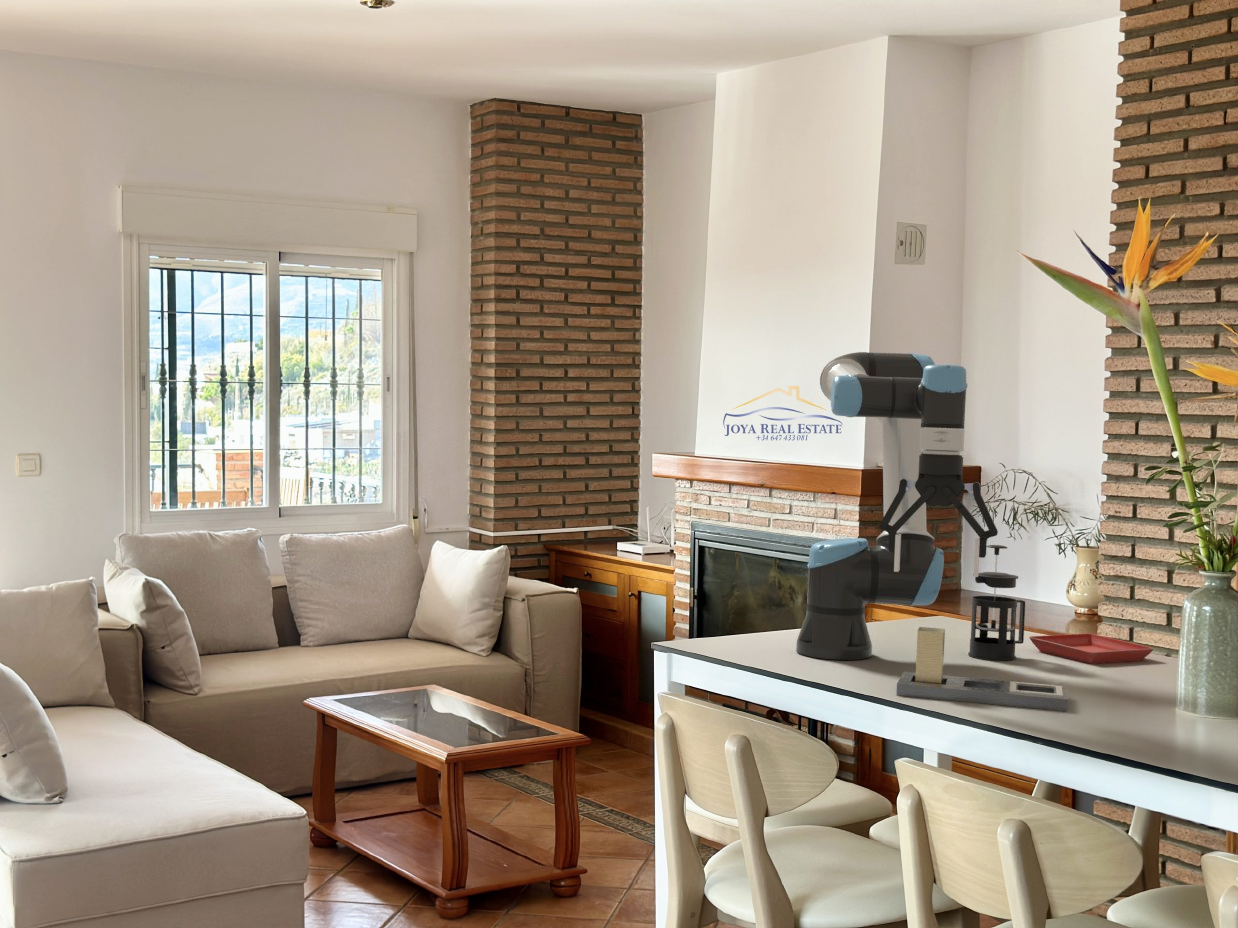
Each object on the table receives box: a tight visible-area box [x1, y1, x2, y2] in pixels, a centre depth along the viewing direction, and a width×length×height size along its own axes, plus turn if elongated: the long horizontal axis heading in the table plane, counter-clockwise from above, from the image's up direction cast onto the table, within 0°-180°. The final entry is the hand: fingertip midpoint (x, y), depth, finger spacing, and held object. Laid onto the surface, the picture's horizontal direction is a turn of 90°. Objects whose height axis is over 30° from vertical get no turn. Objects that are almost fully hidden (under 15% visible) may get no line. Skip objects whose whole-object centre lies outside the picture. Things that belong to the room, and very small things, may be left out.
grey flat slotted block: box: [896, 671, 1068, 712], centre depth 231 cm, size 28×12×2 cm, turn 73°
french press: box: [968, 544, 1026, 662], centre depth 272 cm, size 12×9×23 cm
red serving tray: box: [1028, 633, 1155, 665], centre depth 278 cm, size 18×18×3 cm
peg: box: [915, 626, 946, 685], centre depth 234 cm, size 4×4×11 cm
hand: (935, 573), depth 234 cm, fingers open, 13 cm apart
